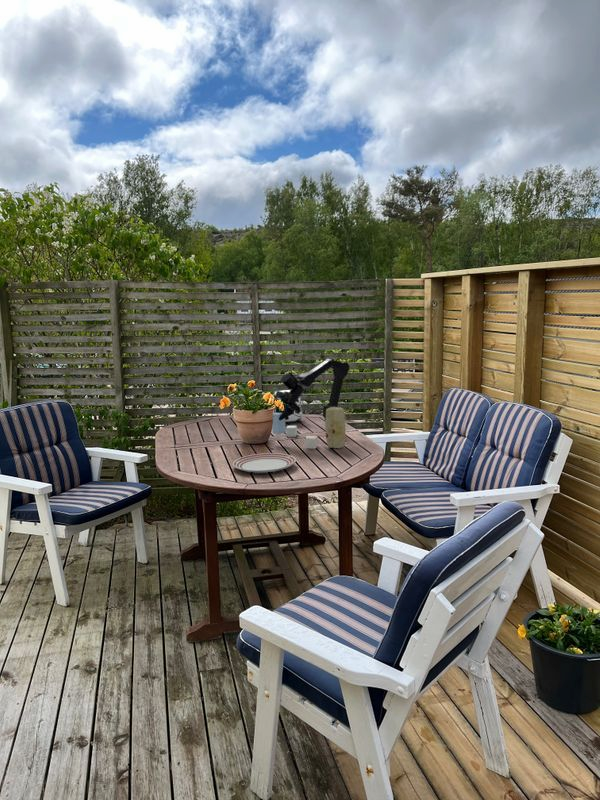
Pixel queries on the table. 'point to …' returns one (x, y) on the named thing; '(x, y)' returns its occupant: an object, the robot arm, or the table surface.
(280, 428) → the dusty blue block
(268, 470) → the dinner plate
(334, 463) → the table surface
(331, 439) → the food model
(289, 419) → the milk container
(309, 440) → the cream cube
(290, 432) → the pale grey cube
